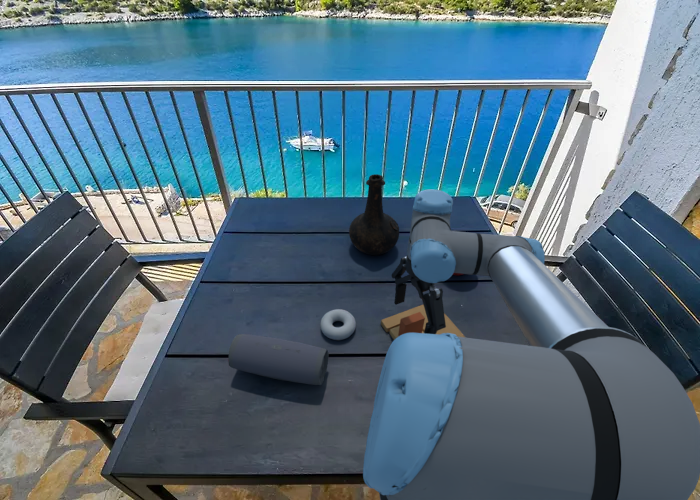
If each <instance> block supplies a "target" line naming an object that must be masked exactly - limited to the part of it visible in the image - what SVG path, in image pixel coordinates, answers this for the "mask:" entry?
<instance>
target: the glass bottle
mask: <svg viewBox="0 0 700 500" xmlns="http://www.w3.org/2000/svg"><path fill="white" fill-rule="evenodd" d="M365 184H366V185H367V186H368V188H367V190H368V191H367V198H366V204H365V209H364V212H362V213H360V214H358V215H357V216H356V217H354V219H353V220H352V221H351V223H350V225H349V228H348V235H349V239H350V241H351V243H352V245H353V246H354V247H355V248H356V249H357V250H359V252H361V253H363V254H367V255H369V256H379V255H384V254H386V253H388V252H389V251H391V250H392V249H393V248H394V247H395V246H396V244H397V243H398V241H399V238H400V226H399V224H398V223H397V221H396V220H395V219H394V218H393V217H392V216H391V215H389V214H388V213H385V212H384V210H383V209H384V207H383V186H385V185H386V181H385V180H384V177H383V175H381V174H374V173H373V174H371V175H369V177H368V179H367V180H366V181H365Z"/></svg>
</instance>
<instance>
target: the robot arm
mask: <svg viewBox="0 0 700 500" xmlns="http://www.w3.org/2000/svg"><path fill="white" fill-rule="evenodd" d="M453 204H454V200H453V198H452V196H451V195H450V194H449V193H447V192H445V191H443V190H440V189H431V188H428V189H424V190H421V191H419V192H418V193H416V195H415V197H414V201H413V206H412V214H411V219H410V231H409V236H408V243H407V249H406V256H403V257H401V258H400V260H399V261H400V262H399V263H398V265H397V266H396V268H395V269H394V270H393V272H392V273H391V278H392V280H393V279H394V283H395V288H394V290H395V294H394V300H393V301H394V305H399V304H402V303H405V300H406V299H405V298H406V292H407V283H406V282H408V281H410V283H411V285H412V287H414V288H415V290H416V291H417V294H418V297H419V299H421V301H422V305H424V308H425V312H426V315H427V319H428V322H427V323H426V326H425V331H424V333H405V334H402V335H400V336H399V337H397V338H396V339H395V340H394V339H393V341H392V342H391V344H390V346H389V347H388V349H387V351H386V355H385V357H384V361H383V364H382V367H381V372H380V376H379V379H378V383H377V388H376V392H375V396H374V401H373V409H372V413H371V418H370V423H369V426H368V431H367V432H368V433H367V437H366V443H365V450H364V457H363V467H362V468H363V469H362V477H363V481H364V484H365V485H366V486H367V487H368V488H369V489H373V490H374V491H376V492H377V493H378V495H379V500H689V499H690V498H691V495H692V494H693V493H694V491H695V490H696V488H697V484H698V483H699V479H700V421H699V417H698V415H697V412H696V408H695V406H694V404H693V402H692V400H691V398H690V396H689V395H688V393H687V391H686V390H685V388H684V386H683V385H682V383H681V382H680V380H679V379H678V378H677V376H676V375H675V373H674V372H673V371H672V370H671V369H670V367H668V366H667V365H666V364H665V363H664V362H663V361H662V360H661V359H660V358H659V356H657V354H655V352H653V351H652V350H651V349H650V348H649V347H648V346H647V345H646V344H644V343H643V341H640V340H639V339H638V337H636V336H634V335H633V334H631V333H629V332H627V331H625V330H623V329H619V328H616V327H610V326H608V325H607V323H605V322H604V321H603V320H602V319H601V318H600V317H599V316H598V315H597V314H596V313H595V312H594V311H593V310H592V309H591V308H589V306H588V305H587V304H585V303H584V301H582V300H581V298H580V297H579V296H577V295H576V294H575V293H574V292H573V291H572V290H571V289H570V288H569V287H568V286H567V285H566V284H565V283H564V281H562V280H561V279H559V278H558V277H557V276H556V275H555V273H553V272H552V270H550V268H548V267H547V265H545V259H546V255H545V254H546V253H545V250H544V249H543V248H544V247H543V244H542V243H541V241H539V240H538V239H536V238H530V237H524V236H522V235H503V234H492V233H490V234H489V233H480V232H479V233H478V232H468V231H467V232H466V231H459V230H452V229H451V215H452V214H453ZM404 273H407V274H406V275H404ZM453 273H461V274H462V275H473V276H482V277H489V278H490V279H491V281H492V283H493V284H494V286H495V288H496V289H497V291H498V293H499V295H500V297H501V298H502V300H503V302H504V303H505V305H506V307H507V309H508V311H509V312H510V314H511V316H512V317H513V320H514V321H515V323H516V325H517V326H518V328H519V330H520V332H521V333H522V335H523V336H524V339H525V340H526V342H527V344H528V345H527V344H521V343H512V342H503V341H495V340H488V339H481V338H473V337H466V336H465V337H458V336H456V334H451V333H443V334H440V335H439V334H436V333H437V331H438V330H440V329H443V328H445V327H446V323H445V316H444V313H445V308H444V300H443V296H444V295H443V294H444V289H443V288H442V287H439V288H437V287H436V286H435V284H438V283H440V282H445V281H448V280H449V279H450V278H451V277H452V276H454V275H453ZM403 275H404V276H403ZM425 292H426V293H425Z"/></svg>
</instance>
